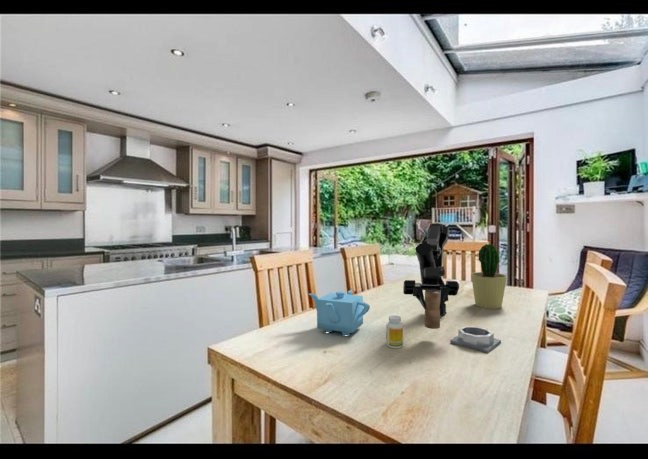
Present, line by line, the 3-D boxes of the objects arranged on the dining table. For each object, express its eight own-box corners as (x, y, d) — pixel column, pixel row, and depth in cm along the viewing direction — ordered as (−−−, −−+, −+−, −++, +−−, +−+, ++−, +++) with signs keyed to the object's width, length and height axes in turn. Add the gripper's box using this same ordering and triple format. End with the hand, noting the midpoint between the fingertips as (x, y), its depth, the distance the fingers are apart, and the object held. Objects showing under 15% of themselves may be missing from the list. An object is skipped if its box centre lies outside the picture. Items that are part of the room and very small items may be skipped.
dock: (450, 343, 113) (450, 331, 113) (465, 334, 121) (465, 323, 121) (487, 353, 104) (487, 340, 104) (501, 342, 113) (501, 331, 113)
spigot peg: (422, 326, 116) (422, 292, 116) (429, 323, 120) (429, 289, 120) (435, 329, 113) (435, 294, 112) (442, 326, 116) (442, 292, 116)
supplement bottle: (383, 344, 112) (383, 316, 112) (396, 341, 115) (396, 313, 114) (393, 349, 108) (393, 320, 107) (406, 347, 110) (406, 318, 110)
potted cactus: (507, 303, 163) (508, 242, 162) (505, 311, 150) (505, 244, 149) (473, 300, 171) (473, 241, 170) (468, 306, 158) (468, 243, 157)
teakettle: (373, 335, 121) (373, 295, 121) (325, 342, 115) (324, 299, 114) (351, 320, 139) (351, 285, 138) (308, 326, 132) (307, 288, 132)
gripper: (403, 257, 121) (406, 295, 110) (458, 258, 118) (466, 296, 108) (402, 275, 129) (404, 312, 118) (452, 276, 126) (460, 314, 116)
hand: (433, 308), depth 115 cm, fingers closed on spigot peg, 5 cm apart
